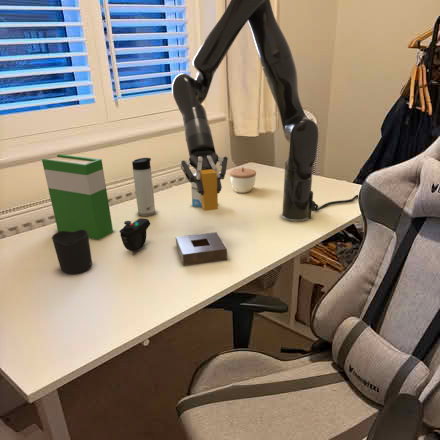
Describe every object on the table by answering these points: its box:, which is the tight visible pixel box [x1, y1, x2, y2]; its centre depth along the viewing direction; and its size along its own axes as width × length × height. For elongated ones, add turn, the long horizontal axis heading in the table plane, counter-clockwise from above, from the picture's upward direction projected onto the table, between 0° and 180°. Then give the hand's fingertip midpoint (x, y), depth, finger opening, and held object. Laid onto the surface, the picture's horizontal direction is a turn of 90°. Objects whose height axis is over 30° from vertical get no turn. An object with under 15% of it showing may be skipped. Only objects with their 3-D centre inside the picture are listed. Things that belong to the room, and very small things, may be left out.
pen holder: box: [51, 230, 93, 275], centre depth 124 cm, size 9×9×10 cm
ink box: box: [190, 168, 202, 208], centre depth 165 cm, size 9×5×15 cm, turn 71°
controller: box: [119, 217, 152, 252], centre depth 134 cm, size 4×12×10 cm, turn 157°
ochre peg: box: [200, 169, 219, 212], centre depth 125 cm, size 4×4×10 cm
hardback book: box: [41, 154, 114, 241], centre depth 143 cm, size 18×7×24 cm, turn 63°
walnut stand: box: [175, 231, 228, 266], centre depth 132 cm, size 13×13×4 cm
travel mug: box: [131, 157, 156, 217], centre depth 158 cm, size 6×7×20 cm
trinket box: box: [229, 167, 257, 194], centre depth 181 cm, size 11×11×9 cm
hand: (210, 192), depth 123 cm, fingers closed on ochre peg, 4 cm apart
